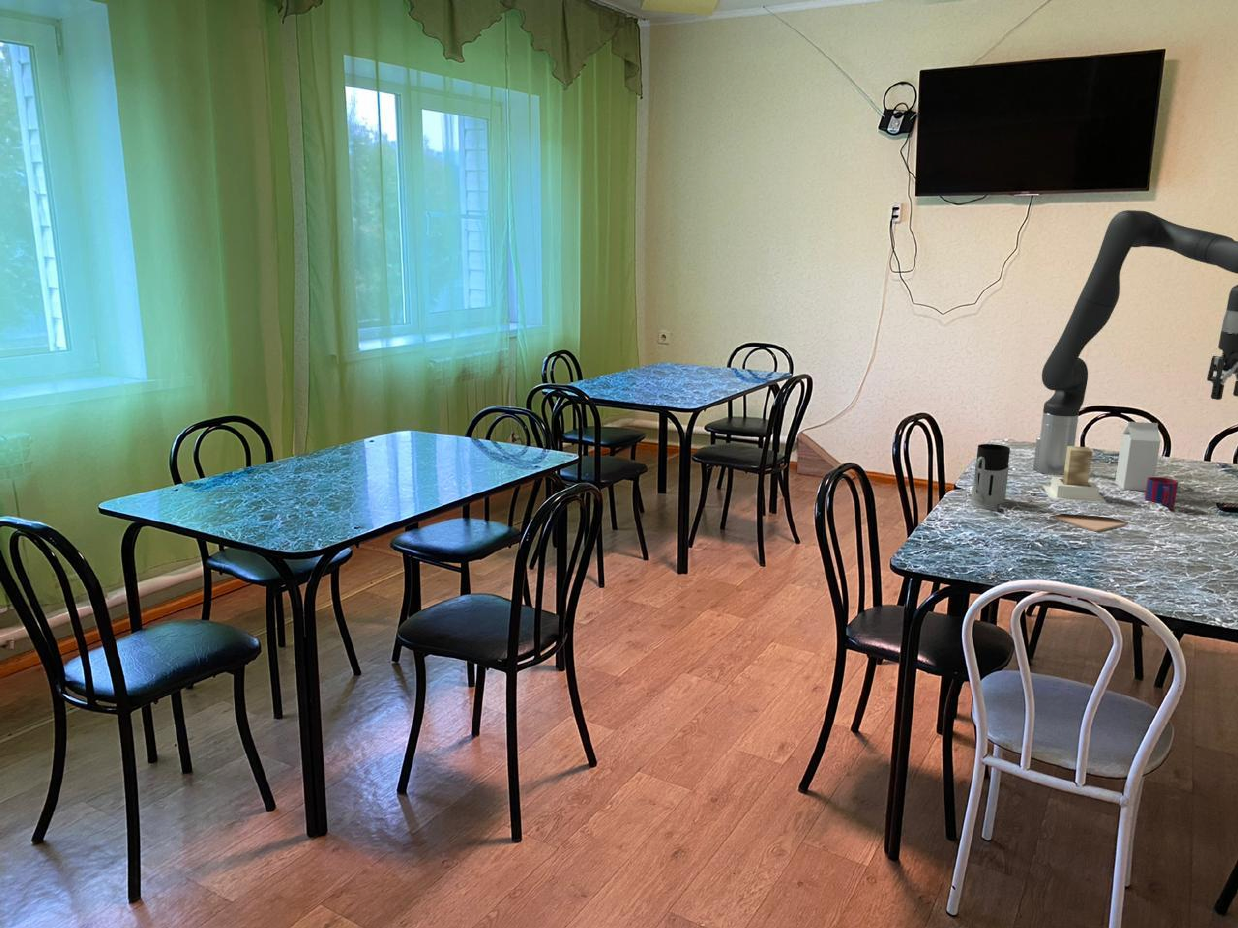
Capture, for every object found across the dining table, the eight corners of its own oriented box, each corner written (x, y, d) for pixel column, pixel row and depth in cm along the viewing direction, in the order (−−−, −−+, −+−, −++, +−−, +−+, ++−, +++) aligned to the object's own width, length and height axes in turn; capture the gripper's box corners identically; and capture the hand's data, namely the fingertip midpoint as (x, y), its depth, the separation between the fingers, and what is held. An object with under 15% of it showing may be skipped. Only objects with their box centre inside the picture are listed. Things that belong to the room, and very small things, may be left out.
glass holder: (1011, 504, 234) (1018, 447, 231) (989, 516, 224) (995, 456, 221) (977, 498, 240) (983, 441, 237) (954, 509, 230) (960, 450, 227)
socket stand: (1049, 504, 236) (1052, 486, 234) (1041, 490, 248) (1043, 474, 247) (1106, 508, 232) (1108, 491, 231) (1094, 494, 244) (1097, 478, 243)
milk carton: (1151, 496, 243) (1163, 425, 239) (1122, 494, 245) (1133, 424, 240) (1142, 489, 250) (1153, 420, 246) (1114, 487, 252) (1124, 419, 247)
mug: (1173, 504, 237) (1177, 478, 235) (1176, 514, 228) (1180, 488, 226) (1143, 501, 239) (1147, 475, 238) (1145, 510, 231) (1149, 484, 229)
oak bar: (1064, 495, 238) (1070, 450, 235) (1061, 490, 243) (1067, 445, 240) (1086, 497, 237) (1092, 451, 234) (1082, 492, 241) (1088, 447, 238)
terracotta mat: (1050, 518, 224) (1050, 516, 224) (1081, 511, 229) (1081, 509, 229) (1096, 531, 213) (1096, 529, 213) (1127, 524, 219) (1128, 522, 219)
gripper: (1242, 327, 225) (1230, 392, 229) (1205, 329, 219) (1192, 397, 223) (1275, 331, 218) (1261, 398, 223) (1237, 334, 212) (1224, 403, 217)
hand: (1227, 397), depth 223 cm, fingers open, 8 cm apart
